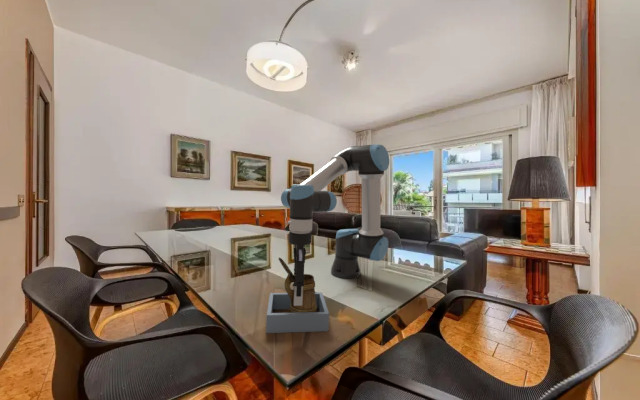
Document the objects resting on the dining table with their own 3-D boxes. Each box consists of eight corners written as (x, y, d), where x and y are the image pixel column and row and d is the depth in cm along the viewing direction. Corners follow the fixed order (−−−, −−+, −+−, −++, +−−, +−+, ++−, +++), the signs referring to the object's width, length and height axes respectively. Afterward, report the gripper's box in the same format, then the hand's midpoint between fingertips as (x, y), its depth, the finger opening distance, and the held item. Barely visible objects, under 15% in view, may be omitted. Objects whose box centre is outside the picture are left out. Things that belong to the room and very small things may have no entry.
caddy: (321, 306, 92) (322, 292, 92) (328, 331, 77) (329, 313, 77) (269, 307, 90) (270, 293, 89) (266, 333, 75) (266, 315, 74)
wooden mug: (275, 304, 86) (277, 253, 85) (314, 302, 89) (316, 252, 88) (276, 318, 77) (279, 261, 76) (319, 315, 80) (322, 260, 79)
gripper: (288, 226, 91) (286, 287, 92) (289, 237, 71) (286, 315, 73) (309, 226, 92) (306, 287, 93) (315, 237, 72) (311, 314, 74)
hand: (297, 299), depth 83 cm, fingers closed on wooden mug, 7 cm apart
